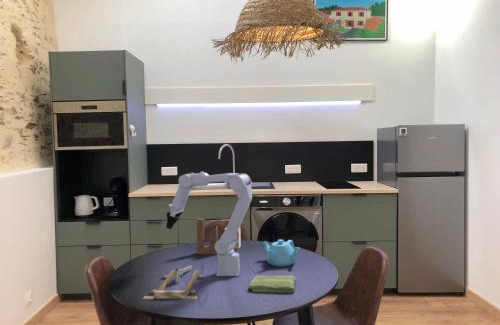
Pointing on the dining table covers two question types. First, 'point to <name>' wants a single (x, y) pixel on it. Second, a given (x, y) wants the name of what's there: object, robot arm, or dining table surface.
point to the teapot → (281, 253)
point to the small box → (238, 240)
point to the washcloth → (273, 284)
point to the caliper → (181, 273)
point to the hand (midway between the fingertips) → (170, 225)
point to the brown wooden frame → (206, 239)
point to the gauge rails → (174, 294)
